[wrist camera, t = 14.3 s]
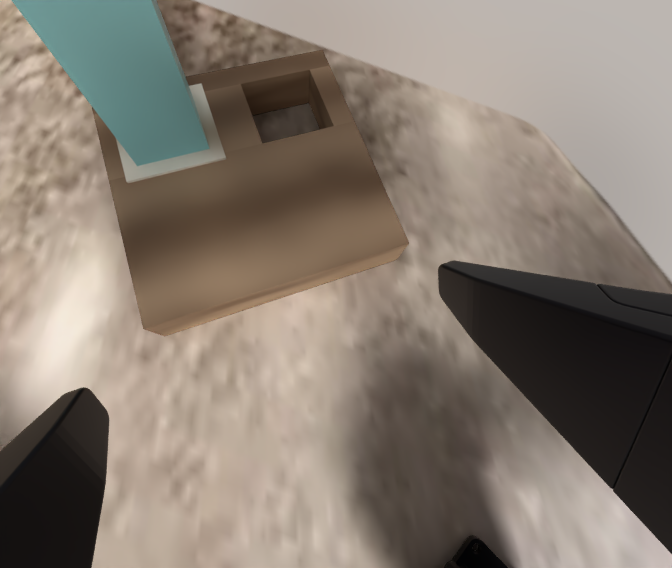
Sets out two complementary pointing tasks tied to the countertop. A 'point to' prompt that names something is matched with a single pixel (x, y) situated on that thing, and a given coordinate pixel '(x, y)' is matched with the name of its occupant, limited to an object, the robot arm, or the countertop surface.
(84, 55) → the plug
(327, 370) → the countertop surface
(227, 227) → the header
